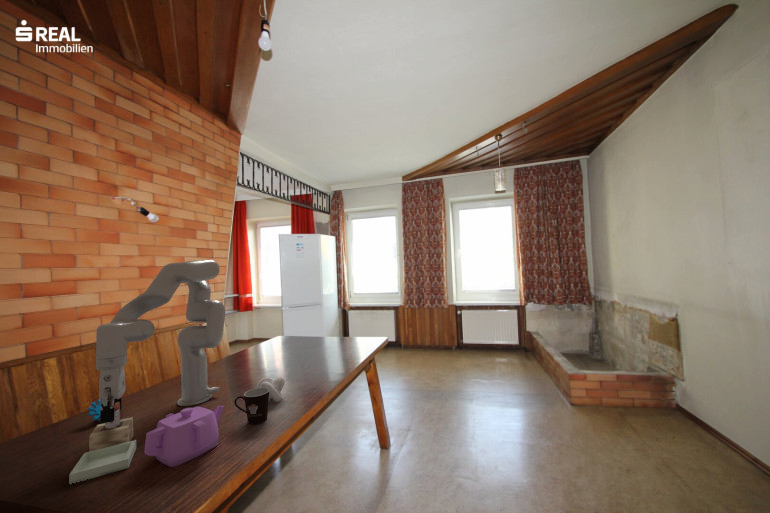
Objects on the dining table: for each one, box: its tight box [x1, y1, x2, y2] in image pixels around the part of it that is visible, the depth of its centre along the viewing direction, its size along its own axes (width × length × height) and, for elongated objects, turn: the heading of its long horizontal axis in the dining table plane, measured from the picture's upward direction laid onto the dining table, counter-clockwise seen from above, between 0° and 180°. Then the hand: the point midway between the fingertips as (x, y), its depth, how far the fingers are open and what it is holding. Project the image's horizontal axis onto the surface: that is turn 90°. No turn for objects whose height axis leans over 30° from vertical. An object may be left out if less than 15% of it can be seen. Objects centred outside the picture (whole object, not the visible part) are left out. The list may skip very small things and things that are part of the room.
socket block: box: [88, 416, 134, 452], centre depth 100 cm, size 9×9×6 cm
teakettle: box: [143, 405, 225, 468], centre depth 95 cm, size 17×17×12 cm
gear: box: [87, 398, 102, 422], centre depth 120 cm, size 11×6×10 cm
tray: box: [68, 439, 137, 485], centre depth 89 cm, size 12×12×2 cm
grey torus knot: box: [255, 376, 286, 403], centre depth 130 cm, size 11×12×9 cm
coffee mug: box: [234, 387, 270, 426], centre depth 113 cm, size 12×9×10 cm
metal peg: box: [105, 402, 121, 430], centre depth 100 cm, size 4×4×13 cm
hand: (111, 416), depth 100 cm, fingers open, 9 cm apart
